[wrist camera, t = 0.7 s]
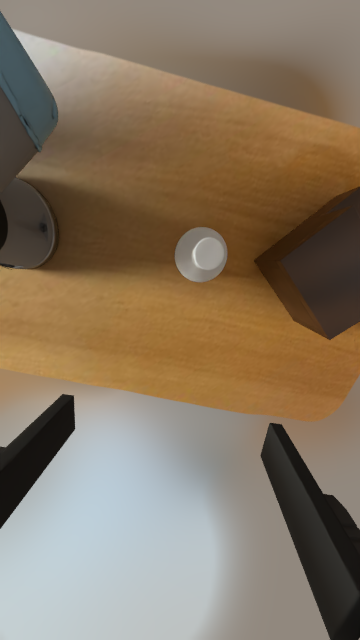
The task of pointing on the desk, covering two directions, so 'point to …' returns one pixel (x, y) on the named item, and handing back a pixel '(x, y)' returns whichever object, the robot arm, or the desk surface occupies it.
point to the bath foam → (200, 254)
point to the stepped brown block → (320, 267)
